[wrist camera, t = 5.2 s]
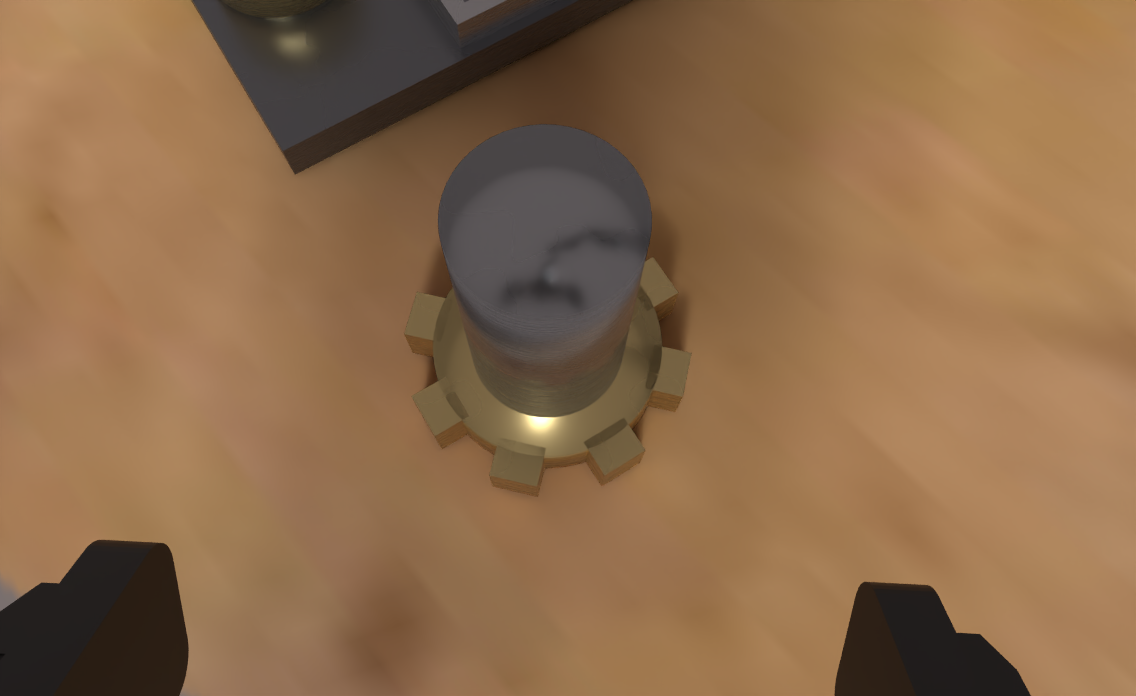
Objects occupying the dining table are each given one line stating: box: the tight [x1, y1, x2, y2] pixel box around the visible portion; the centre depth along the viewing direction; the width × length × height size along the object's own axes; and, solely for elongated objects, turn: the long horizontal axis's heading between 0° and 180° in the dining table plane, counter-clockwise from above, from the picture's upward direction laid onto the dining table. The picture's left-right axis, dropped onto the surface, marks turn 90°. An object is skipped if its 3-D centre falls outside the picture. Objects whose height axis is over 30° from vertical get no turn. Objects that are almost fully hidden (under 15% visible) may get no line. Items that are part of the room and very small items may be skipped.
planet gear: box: [404, 124, 691, 497], centre depth 19 cm, size 7×7×8 cm
